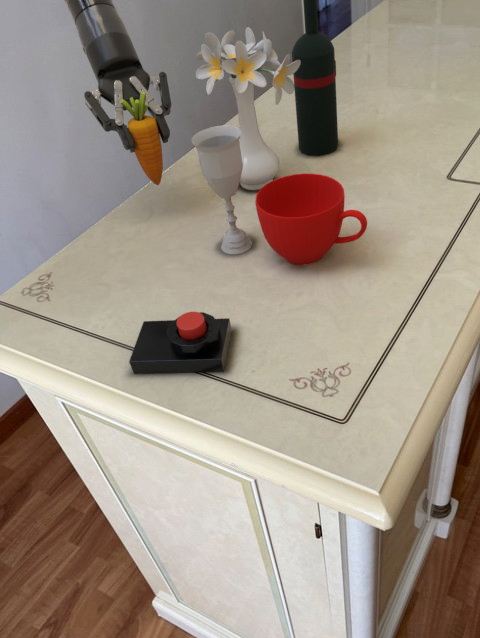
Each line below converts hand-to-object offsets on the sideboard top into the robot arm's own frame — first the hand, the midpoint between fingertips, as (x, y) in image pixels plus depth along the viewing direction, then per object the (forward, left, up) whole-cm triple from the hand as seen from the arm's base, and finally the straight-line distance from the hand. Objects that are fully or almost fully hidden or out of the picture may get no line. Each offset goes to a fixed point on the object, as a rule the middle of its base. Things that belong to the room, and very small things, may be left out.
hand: (149, 144), depth 94 cm
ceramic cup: (+26, -14, -14) cm, 33 cm away
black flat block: (+9, -35, -13) cm, 38 cm away
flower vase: (+15, +11, -14) cm, 23 cm away
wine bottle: (+26, +25, -14) cm, 39 cm away
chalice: (+13, -10, -14) cm, 21 cm away
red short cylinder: (+11, -35, -10) cm, 38 cm away
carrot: (-1, +2, -8) cm, 8 cm away
